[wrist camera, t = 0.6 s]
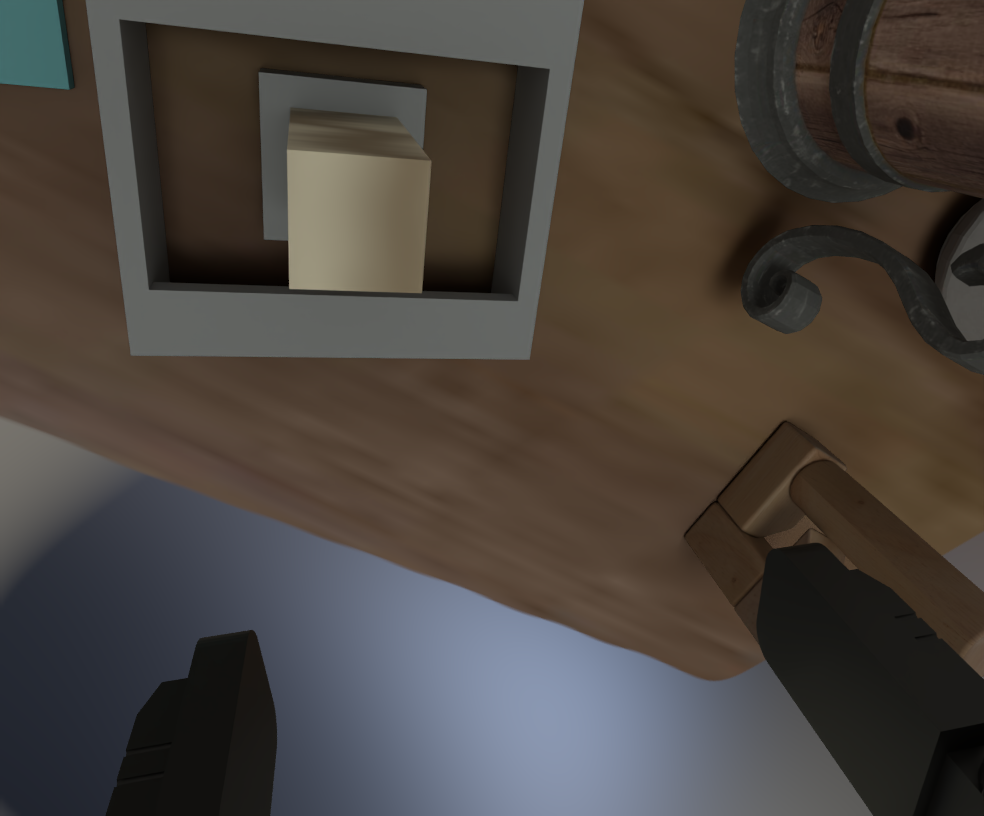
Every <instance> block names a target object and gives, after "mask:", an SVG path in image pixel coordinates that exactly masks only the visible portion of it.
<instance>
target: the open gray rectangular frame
mask: <svg viewBox="0 0 984 816" xmlns="http://www.w3.org/2000/svg"><path fill="white" fill-rule="evenodd" d="M583 4H584V0H86V7H87V14H88V22H89V30H90V38H91V46H92V54H93V62H94V69H95V77H96V85H97V93H98V101H99V109H100V117H101V124H102V132H103V140H104V148H105V156H106V164H107V172H108V179H109V187H110V195H111V203H112V211H113V219H114V227H115V234H116V242H117V250H118V258H119V266H120V274H121V281H122V289H123V297H124V305H125V313H126V321H127V329H128V336H129V344H130V352H131V355H135V356H234V357H333V358H431V359H530V353H531V346H532V340H533V333H534V326H535V320H536V313H537V307H538V300H539V293H540V287H541V280H542V274H543V267H544V261H545V254H546V247H547V241H548V234H549V228H550V221H551V214H552V208H553V201H554V195H555V188H556V181H557V175H558V168H559V162H560V155H561V149H562V142H563V135H564V129H565V122H566V116H567V109H568V102H569V96H570V89H571V83H572V76H573V70H574V63H575V56H576V50H577V43H578V37H579V30H580V23H581V17H582V10H583ZM145 22H147V23H156V24H165V25H173V26H182V27H191V28H199V29H208V30H217V31H225V32H234V33H243V34H251V35H260V36H269V37H277V38H286V39H295V40H303V41H312V42H321V43H329V44H338V45H347V46H355V47H364V48H373V49H381V50H390V51H399V52H407V53H416V54H425V55H433V56H442V57H451V58H459V59H468V60H477V61H485V62H494V63H503V64H511V65H518V71H517V79H516V88H515V96H514V104H513V113H512V121H511V130H510V138H509V146H508V155H507V163H506V171H505V180H504V188H503V197H502V205H501V213H500V222H499V230H498V239H497V247H496V255H495V264H494V272H493V280H492V289H491V293H468V292H438V291H422V293H399V292H368V291H337V290H307V289H289V287H288V286H259V285H229V284H199V283H170V276H169V266H168V255H167V245H166V234H165V224H164V213H163V203H162V192H161V182H160V171H159V161H158V150H157V140H156V129H155V119H154V108H153V97H152V87H151V76H150V66H149V55H148V45H147V34H146V24H145ZM426 97H427V89H426V88H424V87H423V86H422V85H418V84H409V83H399V82H390V81H380V80H371V79H361V78H352V77H342V76H333V75H323V74H313V73H304V72H294V71H285V70H275V69H266V68H261V69H260V71H259V98H260V130H261V161H262V193H263V225H264V240H285V241H288V181H287V144H288V132H289V120H290V108H302V109H313V110H324V111H334V112H345V113H356V114H367V115H378V116H388V117H397V118H398V119H399V121H400V122H401V123H402V124H403V126H404V127H405V128H406V129H407V131H408V132H409V133H410V135H411V136H412V137H413V138H414V140H415V141H416V142H417V143H418V145H419V146H420V147H421V148H422V150H423V141H424V127H425V112H426Z"/></svg>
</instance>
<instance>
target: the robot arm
mask: <svg viewBox="0 0 984 816" xmlns="http://www.w3.org/2000/svg"><path fill="white" fill-rule="evenodd" d="M756 630H757V637H758V641H759V645H760V648H761V650H762V653H763V655H764V657H765V659H766V661H767V662H768V664H769V665H770V667H771V668H772V670H773V671H774V673H775V674H776V675H777V677H778V678H779V680H780V681H781V683H782V684H783V686H784V687H785V688H786V690H787V691H788V693H789V694H790V696H791V697H792V699H793V700H794V702H795V703H796V704H797V706H798V707H799V709H800V710H801V712H802V713H803V715H804V716H805V717H806V719H807V720H808V722H809V723H810V725H811V726H812V727H813V729H814V730H815V732H816V733H817V735H818V736H819V738H820V739H821V741H822V742H823V743H824V745H825V746H826V748H827V749H828V751H829V752H830V754H831V755H832V757H833V758H834V759H835V761H836V762H837V764H838V765H839V767H840V768H841V770H842V771H843V772H844V774H845V775H846V777H847V778H848V780H849V781H850V782H851V784H852V785H853V787H854V788H855V790H856V791H857V793H858V794H859V796H860V797H861V798H862V800H863V801H864V803H865V804H866V806H867V807H868V809H869V810H870V811H871V813H872V814H873V816H984V679H983V678H982V677H981V676H980V675H979V674H978V673H977V672H976V671H975V670H974V669H973V668H972V667H971V666H970V665H969V664H968V663H967V662H966V661H965V660H964V659H963V658H962V657H960V656H959V655H958V654H957V653H956V652H955V651H954V650H953V649H952V648H951V647H950V646H949V645H948V644H947V643H946V642H945V641H944V640H943V639H942V638H941V639H939V638H938V637H937V633H936V632H935V631H934V630H933V629H932V628H931V627H930V626H929V625H928V624H927V623H926V622H925V621H924V620H923V619H922V618H917V616H916V612H915V611H914V610H913V609H912V608H911V607H910V606H909V605H908V604H907V603H906V602H905V601H904V600H903V599H902V598H901V597H900V596H899V595H898V594H896V593H895V592H894V591H893V590H892V589H891V588H890V587H888V586H886V585H885V584H883V583H881V582H879V581H878V580H876V579H874V578H872V577H871V576H869V575H867V574H866V573H864V572H862V571H860V570H859V569H855V570H848V569H847V568H846V567H845V566H844V565H843V564H842V563H841V562H840V561H839V559H838V558H837V557H836V556H835V555H834V554H833V553H832V552H831V551H830V550H829V549H828V548H827V547H826V546H824V545H823V544H821V543H816V542H815V543H808V544H802V545H796V546H789V547H783V548H777V549H772V550H771V551H770V552H769V553H768V555H767V557H766V561H765V568H764V574H763V581H762V587H761V594H760V601H759V607H758V614H757V621H756ZM276 749H277V723H276V713H275V707H274V702H273V698H272V694H271V690H270V686H269V682H268V678H267V674H266V670H265V666H264V662H263V658H262V655H261V650H260V646H259V642H258V639H257V636H256V633H255V632H254V631H253V630H249V631H242V632H236V633H230V634H224V635H217V636H211V637H204V638H200V639H199V640H198V642H197V645H196V648H195V652H194V655H193V659H192V664H191V667H190V671H189V675H188V678H185V679H179V680H173V681H167V682H162V683H161V684H160V686H159V687H158V688H157V689H156V691H155V692H154V693H153V695H152V696H151V697H150V699H149V700H148V701H147V702H146V704H145V705H144V706H143V708H142V709H141V710H140V712H139V713H138V714H137V717H136V720H135V723H134V726H133V729H132V732H131V736H130V739H129V742H128V745H127V748H126V757H124V758H123V761H122V764H121V768H120V771H119V774H118V777H117V787H114V790H113V793H112V796H111V800H110V803H109V806H108V809H107V812H106V816H270V812H271V802H272V792H273V781H274V770H275V759H276Z"/></svg>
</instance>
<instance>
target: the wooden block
mask: <svg viewBox="0 0 984 816" xmlns="http://www.w3.org/2000/svg"><path fill="white" fill-rule="evenodd" d="M846 470H847V467H846V465H845V464H844V463H843V462H842V461H841V460H839V459H838V458H837V457H836V456H835V455H834V454H832V453H831V452H830V451H829V450H828V449H827V448H825V447H824V446H823V445H822V444H821V443H820V442H819V441H817V440H816V439H814V438H813V437H811V436H810V435H808V434H806V433H805V432H803V431H802V430H800V429H799V428H797V427H796V426H794V425H792V424H791V423H788V422H785V423H783V424H782V425H781V426H780V427H779V429H778V430H777V431H776V432H775V433H774V434H773V435H772V437H771V438H770V439H769V440H768V441H767V442H766V443H765V445H764V446H763V447H762V448H761V449H760V450H759V451H758V453H757V454H756V455H755V456H754V457H753V458H752V459H751V461H750V462H749V463H748V464H747V465H746V466H745V467H744V469H743V470H742V471H741V472H740V473H739V474H738V476H737V477H736V478H735V479H734V480H733V481H732V482H731V484H730V485H729V486H728V487H727V488H726V489H725V490H724V492H723V493H722V494H721V495H720V496H719V497H718V502H719V503H717V502H714V503H713V504H712V505H711V506H710V507H709V508H708V509H707V510H706V511H705V513H704V514H703V515H702V516H701V517H700V518H699V519H698V521H697V522H696V523H695V524H694V525H693V526H692V527H691V529H690V530H689V531H688V532H687V533H686V535H685V539H686V541H687V542H688V544H689V545H690V547H691V548H692V549H693V551H694V552H695V554H696V555H697V557H698V558H699V559H700V561H701V562H702V564H703V565H704V566H705V568H706V569H707V571H708V572H709V573H710V575H711V576H712V578H713V579H714V581H715V582H716V583H717V585H718V586H719V588H720V589H721V590H722V592H723V593H724V595H725V596H726V598H727V599H728V600H729V602H730V603H731V605H732V606H733V607H735V608H734V609H735V611H736V613H737V614H738V616H739V617H740V618H741V620H742V621H743V623H744V624H745V625H746V627H747V628H748V630H749V631H750V633H751V634H752V635H753V637H754V638H755V640H756V641H757V642H758V644H759V641H758V637H757V630H756V621H757V614H758V607H759V601H760V594H761V587H762V581H763V574H764V568H765V561H766V557H767V555H768V553H769V552H770V551H771V550H772V549H773V548H772V547H771V546H770V544H769V543H768V542H767V541H766V540H765V539H764V537H765V536H769V535H772V534H775V533H778V532H782V531H785V530H788V529H791V528H793V527H794V526H795V525H796V524H797V523H798V522H799V521H800V520H801V519H802V518H803V517H804V515H806V516H807V517H808V518H809V519H810V520H811V521H812V522H813V523H814V524H815V525H816V526H817V527H818V528H819V529H820V530H821V531H822V532H823V533H824V534H825V535H826V536H825V535H823V534H822V533H820V532H818V531H816V530H814V529H813V528H810V529H808V530H807V531H806V532H805V533H804V534H803V535H802V536H801V537H800V539H799V540H798V541H797V542H796V543H795V544H794V545H793V546H796V545H802V544H808V543H815V542H816V543H821V544H823V545H824V546H826V547H827V548H828V549H829V550H830V551H831V552H832V553H833V554H834V555H835V556H836V557H837V558H838V559H839V561H840V562H841V563H842V564H843V565H844V563H845V556H846V557H847V558H848V559H849V560H850V561H851V562H852V563H853V564H854V565H855V566H856V567H857V568H858V569H859V570H860V571H862V572H864V573H866V574H867V575H869V576H871V577H872V578H874V579H876V580H878V581H879V582H881V583H883V584H885V585H886V586H888V587H890V588H891V589H892V590H893V591H894V592H895V593H896V594H898V595H899V596H900V597H901V598H902V599H903V600H904V601H905V602H906V603H907V604H908V605H909V606H910V607H911V608H912V609H913V610H914V611H915V612H916V616H917V618H922V619H923V620H924V621H925V622H926V623H927V624H928V625H929V626H930V627H931V628H932V629H933V630H934V631H935V632H936V633H937V637H938V638H939V639H941V638H942V639H943V640H944V641H945V642H946V643H947V644H948V645H949V646H950V647H951V648H952V649H953V650H954V651H955V652H956V653H957V654H958V655H959V656H960V657H962V658H963V659H964V660H965V661H966V662H967V663H968V664H969V665H970V666H971V667H972V668H973V669H974V670H975V671H976V672H977V673H978V674H979V675H980V676H981V677H983V676H984V592H983V591H982V590H980V589H979V588H978V587H977V586H976V585H975V584H973V583H972V582H971V581H970V580H969V579H968V578H967V577H965V576H964V575H963V574H962V573H961V572H960V571H959V570H957V569H956V568H955V567H954V566H953V565H952V564H951V563H949V562H948V561H947V560H946V559H945V558H944V557H943V556H941V555H940V554H939V553H938V552H937V551H936V550H935V549H933V548H932V547H931V546H930V545H929V544H928V543H927V542H925V541H924V540H923V539H922V538H921V537H920V536H919V535H917V534H916V533H915V532H914V531H913V530H912V529H911V528H909V527H908V526H907V525H906V524H905V523H904V522H903V521H901V520H900V519H899V518H898V517H897V516H896V515H895V514H893V513H892V512H891V511H890V510H889V509H888V508H887V507H885V506H884V505H883V504H882V503H881V502H880V501H879V500H877V499H876V498H875V497H874V496H873V495H872V494H870V493H869V492H868V491H867V490H866V489H865V488H864V487H862V486H861V485H860V484H859V483H858V482H857V481H856V480H854V479H853V478H852V477H851V476H850V475H849V474H848V473H846V472H845V471H846Z"/></svg>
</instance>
